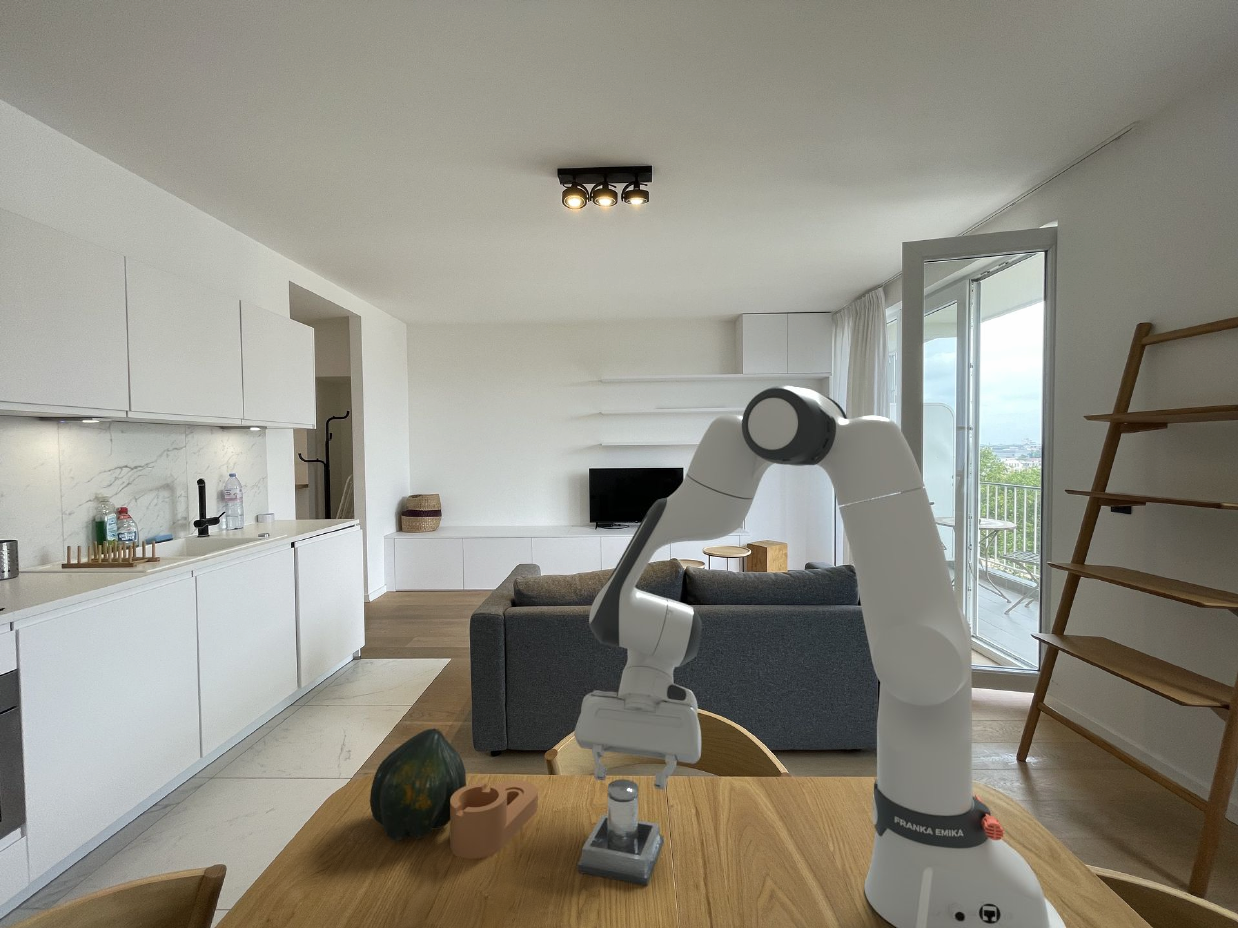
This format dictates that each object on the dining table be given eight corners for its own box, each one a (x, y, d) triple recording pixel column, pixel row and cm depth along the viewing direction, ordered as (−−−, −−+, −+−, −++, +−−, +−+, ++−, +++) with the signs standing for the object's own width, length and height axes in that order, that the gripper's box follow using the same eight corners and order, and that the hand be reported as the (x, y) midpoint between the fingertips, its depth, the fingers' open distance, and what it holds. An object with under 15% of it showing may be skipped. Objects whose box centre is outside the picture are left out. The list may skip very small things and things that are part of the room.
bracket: (486, 865, 87) (487, 816, 87) (438, 852, 90) (438, 804, 90) (546, 801, 104) (546, 760, 104) (504, 792, 107) (504, 752, 107)
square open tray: (663, 842, 92) (663, 822, 92) (647, 885, 83) (647, 862, 83) (600, 831, 95) (600, 811, 95) (577, 871, 86) (577, 849, 86)
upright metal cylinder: (640, 843, 90) (641, 781, 90) (633, 861, 86) (633, 797, 86) (612, 837, 92) (612, 777, 92) (603, 855, 87) (603, 792, 87)
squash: (336, 818, 89) (408, 736, 90) (369, 772, 104) (430, 702, 105) (411, 881, 89) (481, 798, 91) (432, 826, 104) (492, 756, 106)
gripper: (581, 680, 103) (559, 765, 94) (703, 693, 97) (692, 785, 88) (590, 697, 107) (569, 780, 98) (707, 710, 102) (697, 800, 92)
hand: (629, 783), depth 93 cm, fingers open, 8 cm apart
